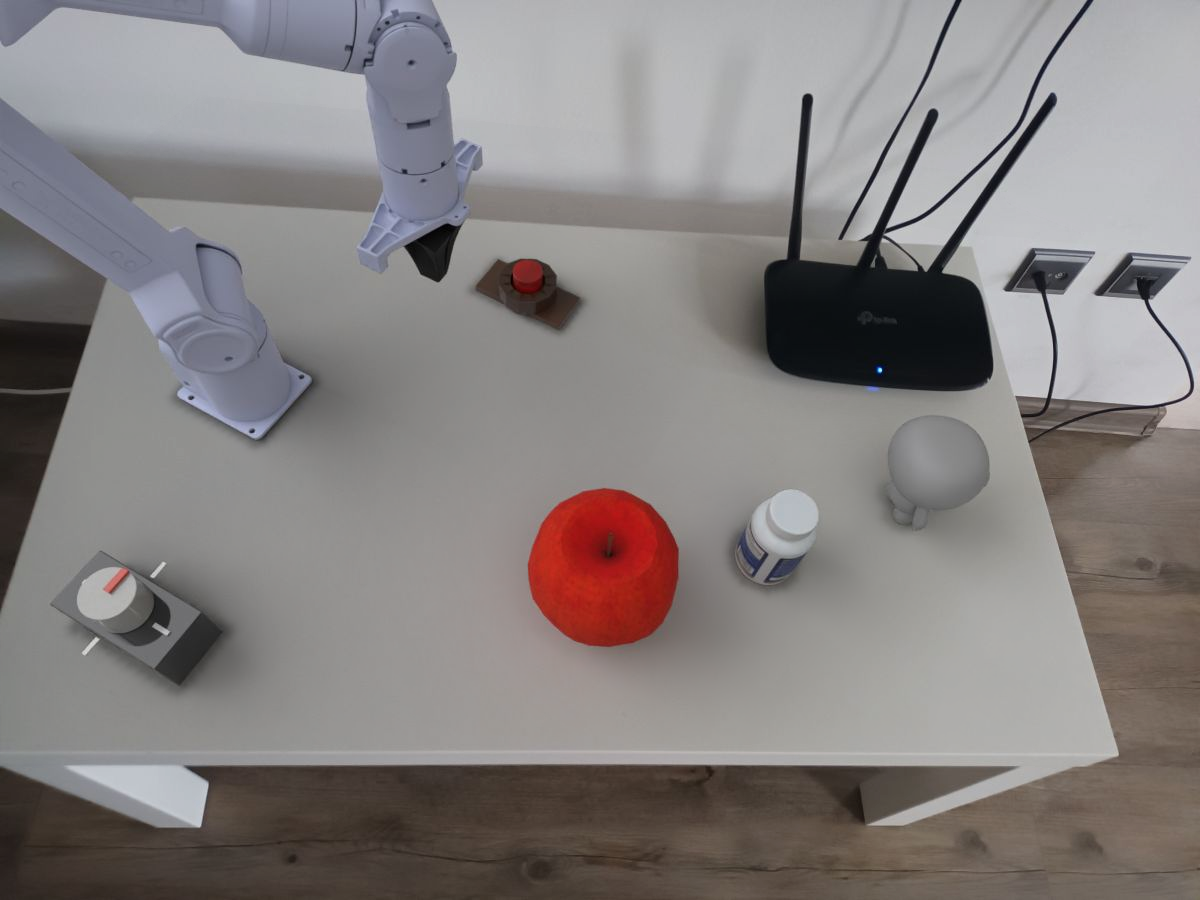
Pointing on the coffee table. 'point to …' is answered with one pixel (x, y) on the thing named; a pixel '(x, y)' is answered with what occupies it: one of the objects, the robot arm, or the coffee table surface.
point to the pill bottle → (777, 537)
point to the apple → (604, 568)
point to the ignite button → (527, 276)
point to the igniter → (541, 305)
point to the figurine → (934, 467)
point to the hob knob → (115, 600)
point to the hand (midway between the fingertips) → (433, 273)
